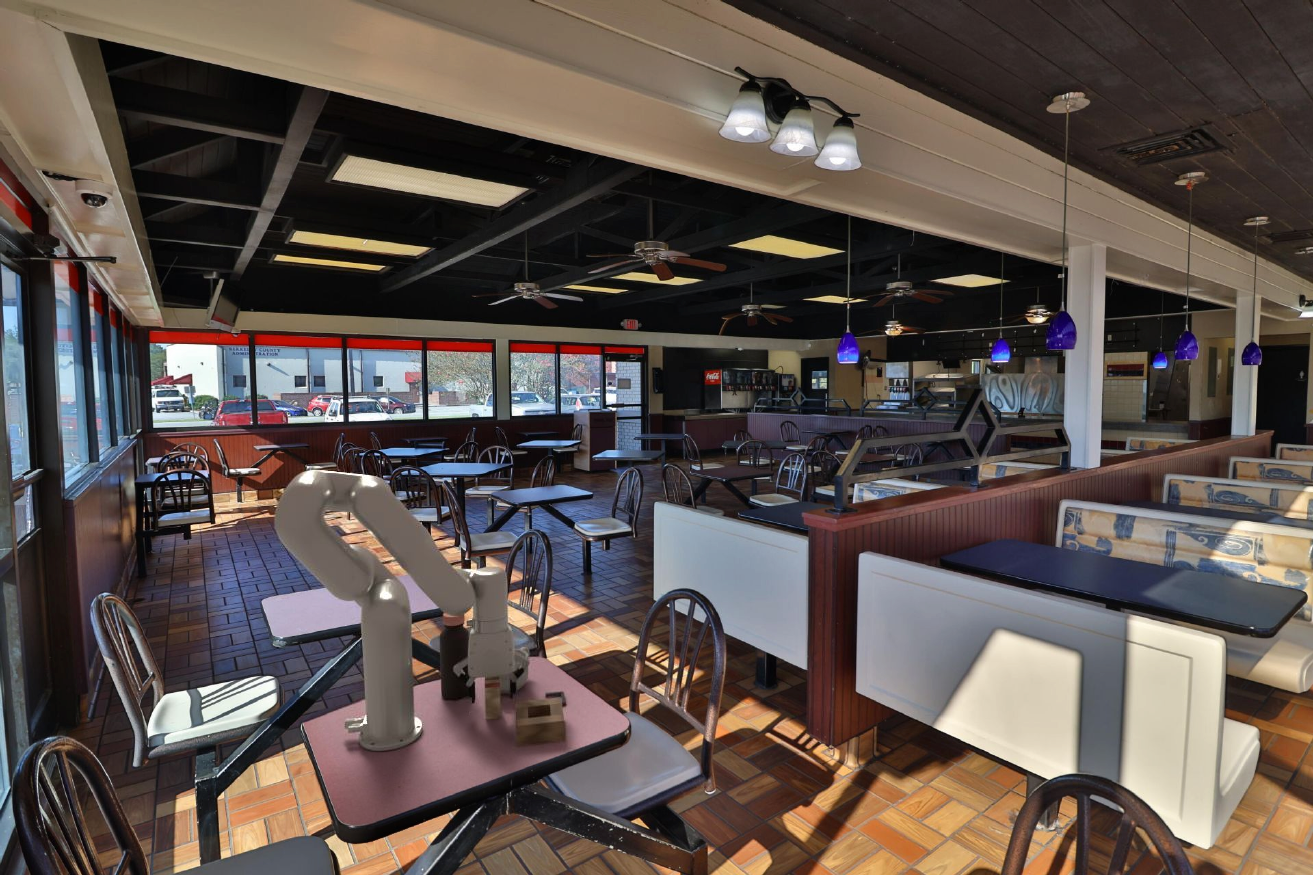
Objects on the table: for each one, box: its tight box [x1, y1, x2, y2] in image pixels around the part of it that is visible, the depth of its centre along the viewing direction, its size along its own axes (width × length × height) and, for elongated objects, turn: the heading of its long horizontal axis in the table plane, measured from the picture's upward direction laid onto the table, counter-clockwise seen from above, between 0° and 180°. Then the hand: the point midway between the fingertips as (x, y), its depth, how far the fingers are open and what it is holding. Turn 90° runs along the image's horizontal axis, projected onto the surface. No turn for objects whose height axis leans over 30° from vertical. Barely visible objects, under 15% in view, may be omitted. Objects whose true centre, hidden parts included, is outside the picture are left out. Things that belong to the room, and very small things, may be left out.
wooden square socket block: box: [514, 697, 566, 747], centre depth 142 cm, size 10×10×4 cm
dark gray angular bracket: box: [545, 691, 566, 707], centre depth 155 cm, size 8×6×1 cm
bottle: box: [438, 612, 470, 701], centre depth 158 cm, size 7×7×20 cm
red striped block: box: [484, 676, 502, 720], centre depth 149 cm, size 3×3×9 cm
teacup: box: [500, 646, 530, 695], centre depth 163 cm, size 14×11×8 cm
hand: (492, 698), depth 149 cm, fingers open, 7 cm apart
